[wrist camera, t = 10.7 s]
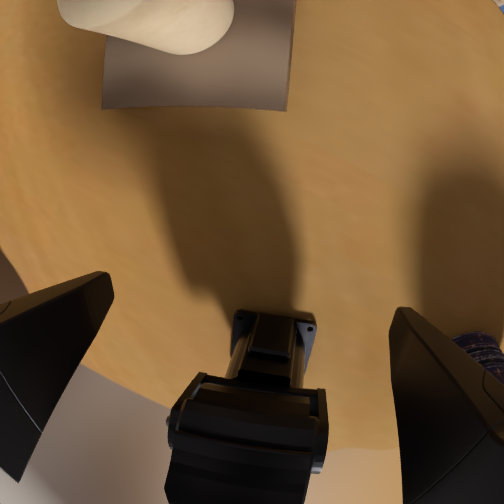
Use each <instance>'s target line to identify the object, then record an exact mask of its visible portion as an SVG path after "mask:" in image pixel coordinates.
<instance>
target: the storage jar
mask: <svg viewBox="0 0 504 504" xmlns="http://www.w3.org/2000/svg"><path fill="white" fill-rule="evenodd" d="M450 340H452V341H453V342H454V343H455V344H457V345H458V346H459V347H460V348H461V349H462V350H464V351H465V352H466V353H467V354H468V355H470V356H471V357H472V358H473V359H474V360H476V361H477V362H478V363H479V364H480V365H481V366H482V367H484V370H487V371H488V372H489V373H491V374H492V375H493V376H494V377H495V378H496V379H498V380H499V381H500V382H501V383H502V384H503V385H504V354H503V352H502V351H501V349H500V348H499V345H498V343H497V341H496V340H495V338H494V337H493V336H491V335H490V334H488V333H485V332H469V333H465V334H461V335H459V336H456V337H454V338H452V339H450Z"/></svg>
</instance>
